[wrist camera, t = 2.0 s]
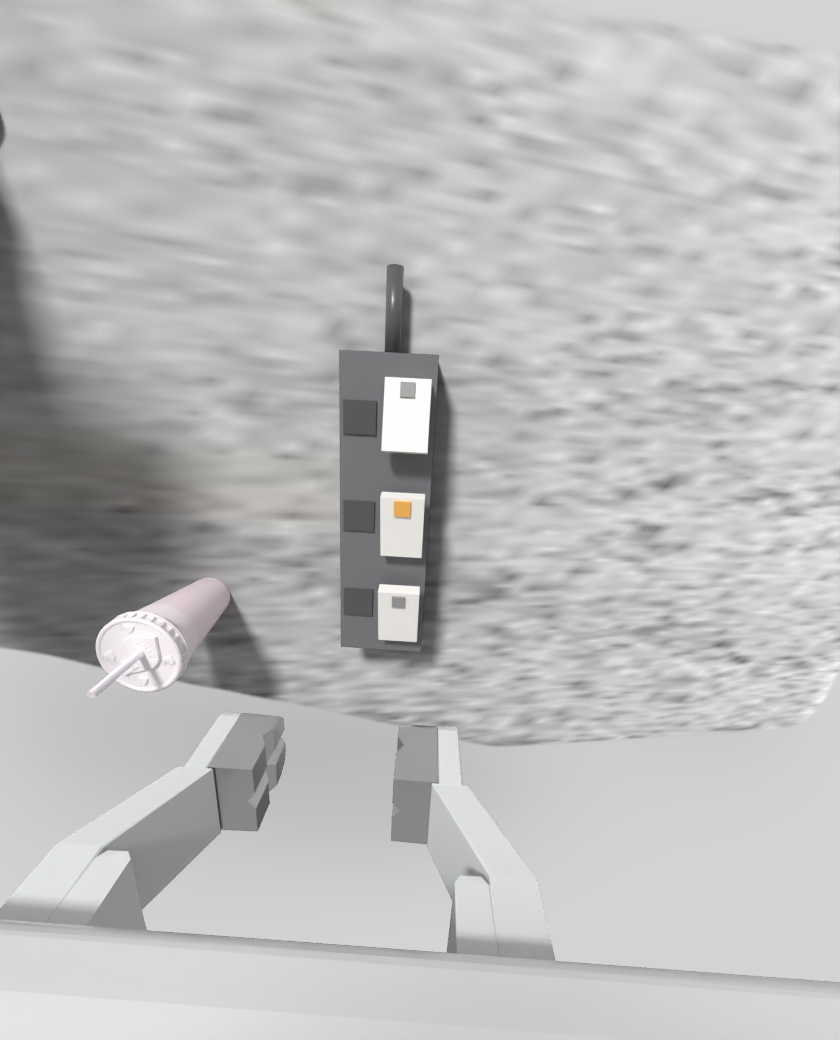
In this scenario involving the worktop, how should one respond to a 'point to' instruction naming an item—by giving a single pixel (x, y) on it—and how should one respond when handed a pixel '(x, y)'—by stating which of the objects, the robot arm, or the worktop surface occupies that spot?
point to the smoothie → (159, 637)
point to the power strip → (378, 478)
